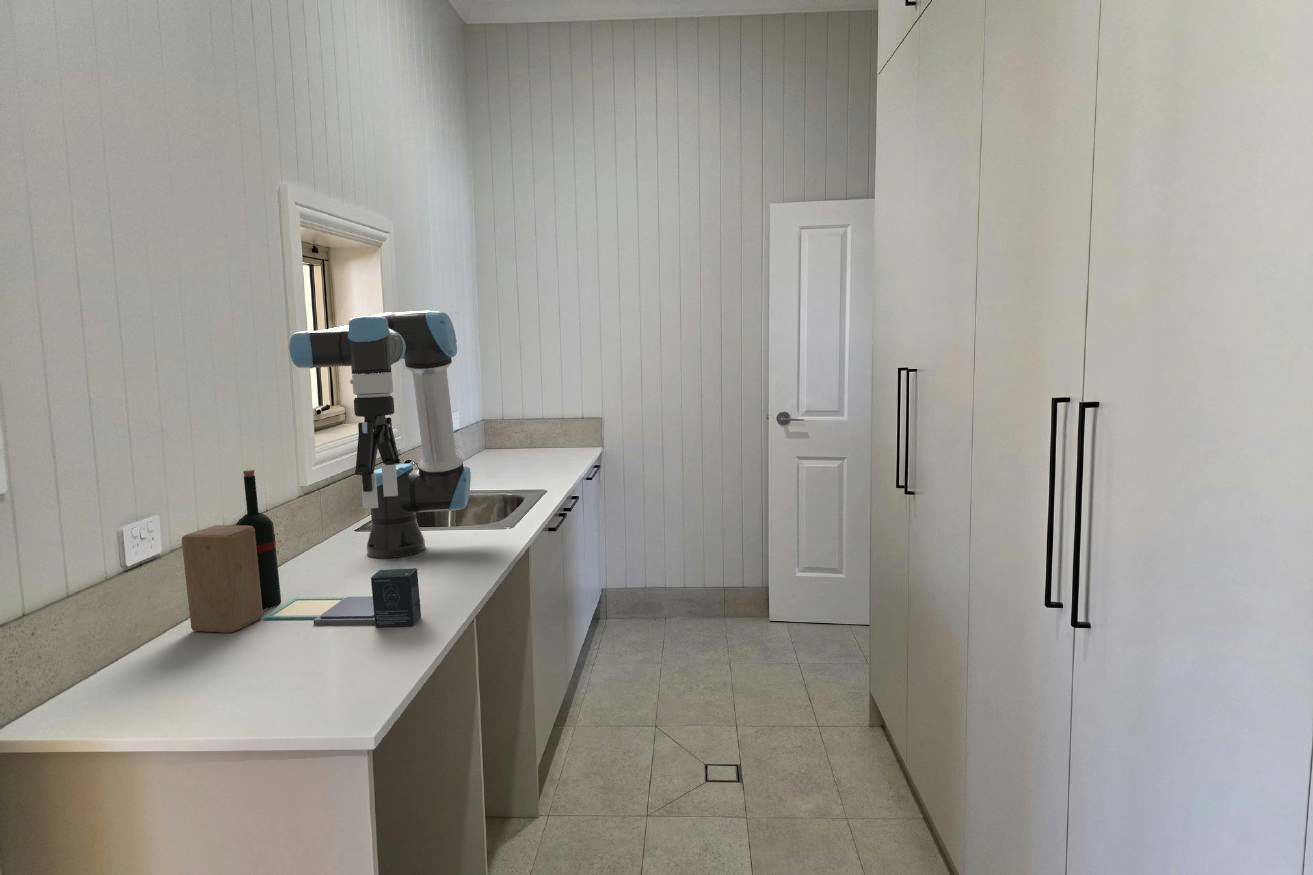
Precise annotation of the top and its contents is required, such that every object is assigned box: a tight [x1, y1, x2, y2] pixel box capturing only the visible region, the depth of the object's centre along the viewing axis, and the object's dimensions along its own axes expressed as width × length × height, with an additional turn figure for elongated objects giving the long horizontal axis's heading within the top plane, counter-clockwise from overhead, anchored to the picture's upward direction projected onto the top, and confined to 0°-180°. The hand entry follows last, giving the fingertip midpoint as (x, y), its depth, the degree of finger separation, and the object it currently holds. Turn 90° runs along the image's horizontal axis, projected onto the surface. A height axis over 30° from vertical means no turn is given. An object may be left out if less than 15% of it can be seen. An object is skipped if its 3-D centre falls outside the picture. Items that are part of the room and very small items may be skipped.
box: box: [370, 567, 422, 628], centre depth 172 cm, size 8×6×11 cm
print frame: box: [263, 596, 345, 621], centre depth 183 cm, size 13×14×1 cm
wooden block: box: [181, 524, 264, 634], centre depth 174 cm, size 10×10×20 cm
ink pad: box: [313, 595, 375, 626], centre depth 180 cm, size 15×13×1 cm
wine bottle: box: [235, 469, 282, 611], centre depth 187 cm, size 8×10×30 cm
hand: (381, 501), depth 170 cm, fingers open, 13 cm apart
